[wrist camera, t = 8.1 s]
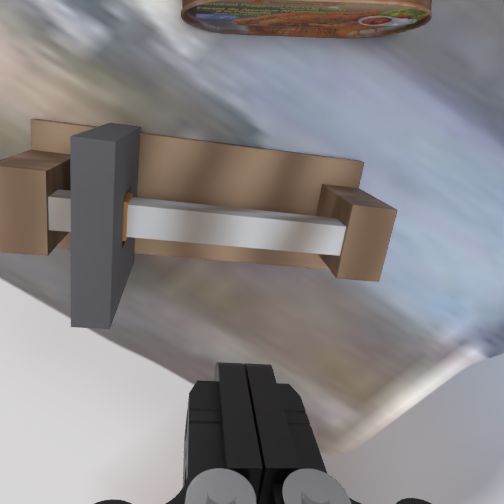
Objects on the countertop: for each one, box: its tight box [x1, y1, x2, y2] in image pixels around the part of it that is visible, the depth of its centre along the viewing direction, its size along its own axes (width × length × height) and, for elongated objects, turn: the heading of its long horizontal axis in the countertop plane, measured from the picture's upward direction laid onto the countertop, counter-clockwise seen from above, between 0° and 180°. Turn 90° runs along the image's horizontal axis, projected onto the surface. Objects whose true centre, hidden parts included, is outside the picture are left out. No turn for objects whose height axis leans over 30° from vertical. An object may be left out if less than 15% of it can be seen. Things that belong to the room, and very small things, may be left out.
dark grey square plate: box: [70, 123, 140, 329], centre depth 26 cm, size 2×10×10 cm, turn 172°
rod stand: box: [0, 119, 397, 282], centre depth 29 cm, size 24×9×8 cm, turn 82°
